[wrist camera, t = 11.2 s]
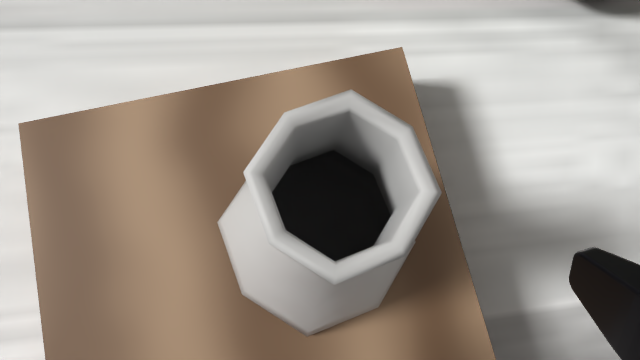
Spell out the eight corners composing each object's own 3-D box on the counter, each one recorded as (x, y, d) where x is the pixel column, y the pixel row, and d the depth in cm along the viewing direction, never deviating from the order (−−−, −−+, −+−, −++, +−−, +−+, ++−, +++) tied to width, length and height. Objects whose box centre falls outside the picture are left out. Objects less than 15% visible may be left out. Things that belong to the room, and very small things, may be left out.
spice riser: (386, 81, 22) (402, 46, 19) (467, 364, 20) (503, 383, 16) (64, 147, 21) (18, 123, 17) (106, 464, 18) (62, 509, 15)
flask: (185, 219, 17) (35, 150, 7) (328, 110, 18) (365, -77, 8) (303, 372, 16) (313, 529, 6) (445, 245, 17) (638, 212, 8)
